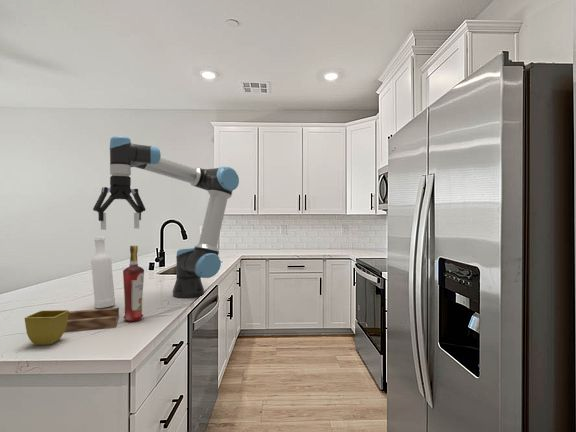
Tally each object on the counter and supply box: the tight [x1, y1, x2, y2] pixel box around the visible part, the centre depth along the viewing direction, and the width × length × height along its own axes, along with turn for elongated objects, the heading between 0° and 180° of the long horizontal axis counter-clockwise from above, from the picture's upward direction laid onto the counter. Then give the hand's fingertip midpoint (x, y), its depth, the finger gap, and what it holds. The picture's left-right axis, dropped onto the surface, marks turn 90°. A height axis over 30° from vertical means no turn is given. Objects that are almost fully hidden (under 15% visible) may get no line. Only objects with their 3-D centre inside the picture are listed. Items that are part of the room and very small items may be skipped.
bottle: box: [90, 235, 116, 309], centre depth 157 cm, size 8×8×30 cm
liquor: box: [122, 245, 145, 323], centre depth 137 cm, size 7×7×28 cm
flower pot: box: [24, 309, 70, 346], centre depth 113 cm, size 9×9×9 cm
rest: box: [64, 307, 120, 333], centre depth 131 cm, size 25×15×3 cm, turn 111°
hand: (120, 229), depth 146 cm, fingers open, 13 cm apart
